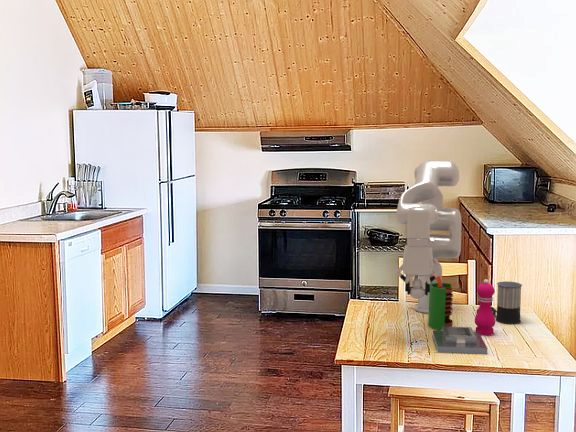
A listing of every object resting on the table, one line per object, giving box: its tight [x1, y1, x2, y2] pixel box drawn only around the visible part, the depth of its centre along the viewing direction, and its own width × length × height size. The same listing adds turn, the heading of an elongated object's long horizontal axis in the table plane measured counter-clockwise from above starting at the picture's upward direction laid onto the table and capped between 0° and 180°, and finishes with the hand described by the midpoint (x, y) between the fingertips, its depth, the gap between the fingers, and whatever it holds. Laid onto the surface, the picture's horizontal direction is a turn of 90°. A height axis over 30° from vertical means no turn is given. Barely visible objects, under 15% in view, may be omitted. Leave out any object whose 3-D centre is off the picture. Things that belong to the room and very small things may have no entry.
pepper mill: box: [474, 278, 496, 337], centre depth 229 cm, size 7×7×20 cm
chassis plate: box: [432, 325, 488, 355], centre depth 217 cm, size 18×16×4 cm
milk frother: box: [476, 280, 523, 325], centre depth 247 cm, size 14×16×15 cm
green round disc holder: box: [427, 274, 454, 330], centre depth 238 cm, size 10×9×20 cm
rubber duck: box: [409, 276, 425, 300], centre depth 219 cm, size 5×7×8 cm
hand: (417, 293), depth 219 cm, fingers closed on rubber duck, 5 cm apart
